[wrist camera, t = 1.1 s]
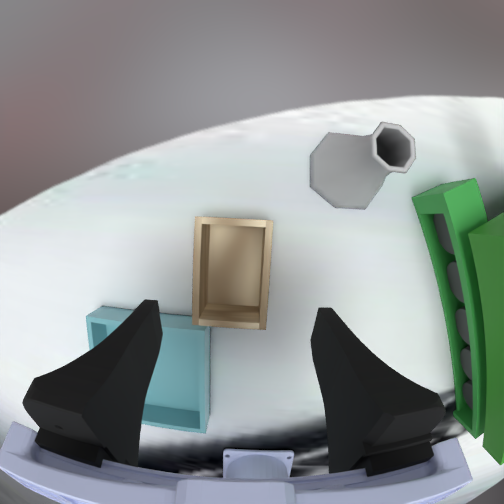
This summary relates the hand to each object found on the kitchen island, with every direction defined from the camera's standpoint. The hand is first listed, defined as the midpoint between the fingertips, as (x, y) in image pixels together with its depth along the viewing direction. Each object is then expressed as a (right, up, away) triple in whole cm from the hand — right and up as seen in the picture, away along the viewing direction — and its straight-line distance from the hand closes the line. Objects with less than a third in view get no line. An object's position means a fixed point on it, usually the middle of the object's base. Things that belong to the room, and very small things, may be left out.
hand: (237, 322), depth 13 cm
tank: (+32, +2, +14) cm, 35 cm away
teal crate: (-9, -8, +14) cm, 19 cm away
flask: (+9, +10, +13) cm, 19 cm away
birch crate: (-1, +2, +13) cm, 14 cm away
